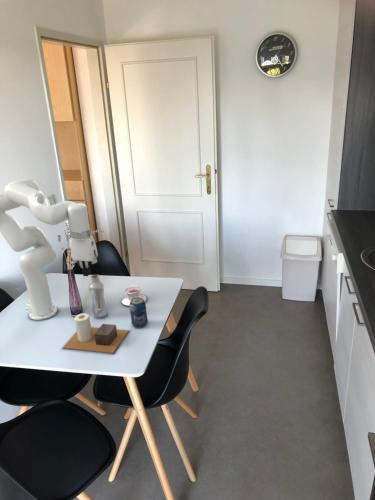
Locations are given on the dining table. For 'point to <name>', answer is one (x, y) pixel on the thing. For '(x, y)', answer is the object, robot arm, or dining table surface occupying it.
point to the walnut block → (105, 334)
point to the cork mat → (91, 344)
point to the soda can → (138, 312)
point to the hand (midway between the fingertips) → (87, 275)
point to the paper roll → (83, 327)
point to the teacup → (132, 294)
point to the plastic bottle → (98, 297)
